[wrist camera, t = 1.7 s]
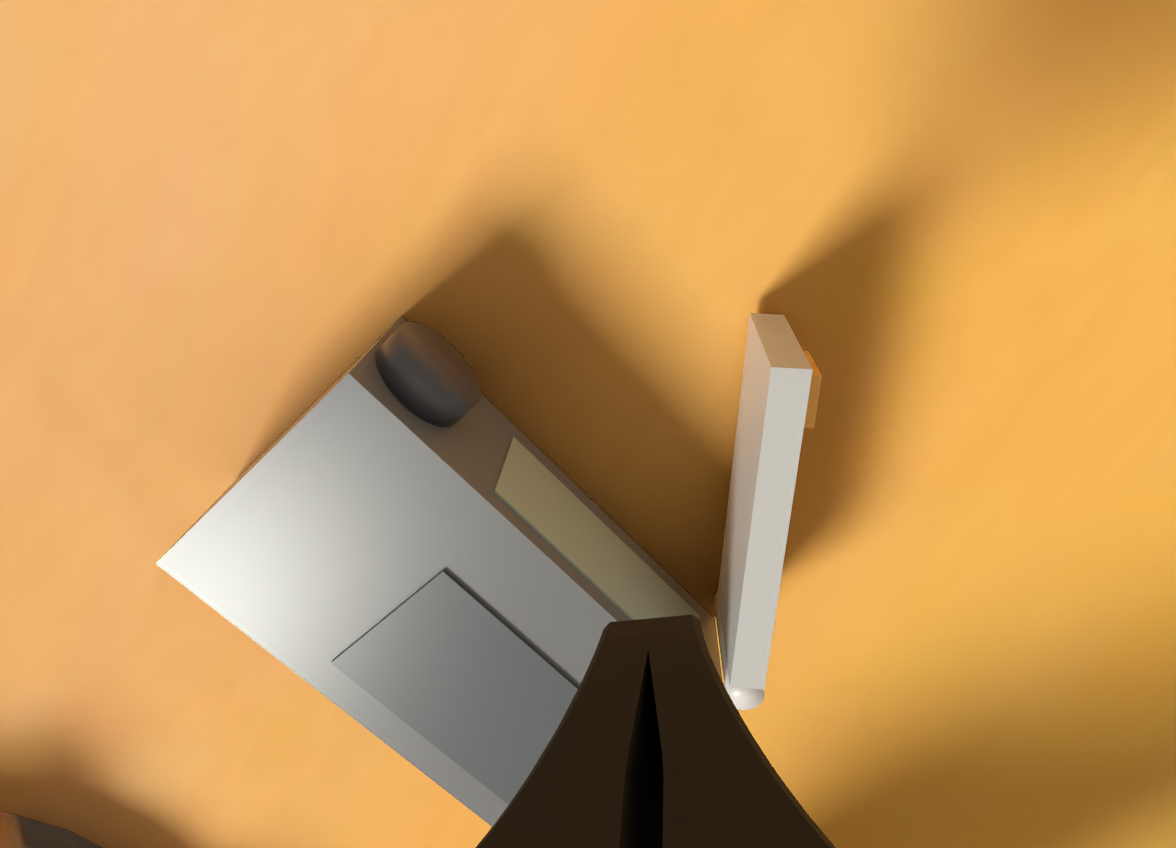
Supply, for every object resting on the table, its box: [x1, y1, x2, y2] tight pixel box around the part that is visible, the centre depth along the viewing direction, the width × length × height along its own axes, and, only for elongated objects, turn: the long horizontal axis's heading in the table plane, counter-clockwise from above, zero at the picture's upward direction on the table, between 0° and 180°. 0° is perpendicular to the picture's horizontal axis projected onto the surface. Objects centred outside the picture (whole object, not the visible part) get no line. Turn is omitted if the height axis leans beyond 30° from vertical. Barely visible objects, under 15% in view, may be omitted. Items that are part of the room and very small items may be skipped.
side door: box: [714, 313, 822, 710], centre depth 20 cm, size 9×1×4 cm, turn 178°
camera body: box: [156, 316, 722, 827], centre depth 21 cm, size 12×8×4 cm, turn 43°
